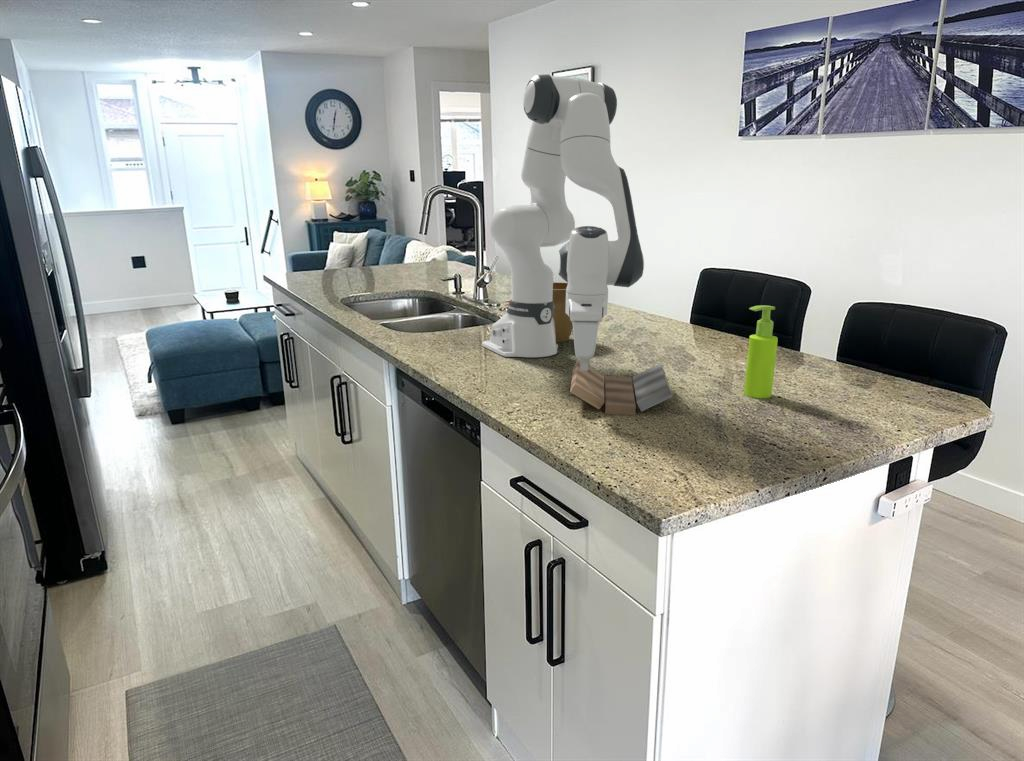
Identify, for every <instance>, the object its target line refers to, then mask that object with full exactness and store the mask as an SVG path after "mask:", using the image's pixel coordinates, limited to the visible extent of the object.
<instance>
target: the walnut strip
mask: <svg viewBox="0 0 1024 761" xmlns="http://www.w3.org/2000/svg"><path fill="white" fill-rule="evenodd" d="M604 401H605V402H604V410H605V412H604V413H605V415H619V416H620V415H621V416H622V415H623V416H636V407H637V406H636V405H637V403H636V397H635V391H634V385H633V379H632V376H617V375H616V376H615V375H604Z"/></svg>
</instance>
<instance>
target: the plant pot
mask: <svg viewBox="0 0 1024 761" xmlns="http://www.w3.org/2000/svg"><path fill="white" fill-rule="evenodd" d="M567 285H568V282H554V281H553V301H554V306H555V308H554V314H553V319H554V322H555V336H556V343H561V342H567V341H569V339H570V337H571V334H572V333H573V324H572V321H571V320H570V317H569V316H568V315H567V314H566V313H565V308H566V288H567Z"/></svg>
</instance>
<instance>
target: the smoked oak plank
mask: <svg viewBox="0 0 1024 761" xmlns="http://www.w3.org/2000/svg"><path fill="white" fill-rule="evenodd" d="M604 382H605V375H603V373H600V372H598V371H596V370H595V369H593V368H592V367H591V366H589V367H588V371H581V370H580V359H578V360H576V363H575V364H574V365H573V367H572V373H571V383H570V389H569V390H570V391H569V392H570V394H573V395H574V396H576V397H578V398H579V399H581V400H582V401H584V402H586V403H588V404H589V405H591V406H592V407H594V408H595V409H597V410H600V409H601V407H602V406H603V405H604V404H605V388H604Z"/></svg>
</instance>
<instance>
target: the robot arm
mask: <svg viewBox="0 0 1024 761" xmlns="http://www.w3.org/2000/svg"><path fill="white" fill-rule="evenodd" d="M617 108H618V99H617V95H616V91H615V90H614V89H613V88H612V87H611V86H609V85H608V84H605V83H602V82H595V81H591V80H588V79H584V78H580V77H575V76H574V77H569V76H559V75H557V76H556V75H552V76H551V75H550V74H537V75H534V76H532V78H531V79H529V81H528V83H527V85H526V87H525V91H524V95H523V110H524V111H523V112H524V114H525V115H526V116H527V118H528V119H529V120H530V121H532V123H531V126H530V129H529V132H528V137H527V142H526V147H525V151H524V158H523V163H522V169H521V180H522V182H523V184H524V185H525V186H526V187H527V188H528V189H529V191H530V203H529V204H523V205H522V204H517V205H515V204H514V205H510V206H506V207H503V208H501V209H498V210H496V212H494V214H493V215H492V218H491V220H490V225H489V226H490V234H491V237H492V239H493V241H494V243H495V244H496V245H497V246H499V248H500V249H501V250H502V251H503V253H504V254H505V256H506V259H507V261H508V264H509V268H510V280H511V296H510V297H511V299H510V300H507V301H505V304H504V306H507V310H506V313H505V314H504V315H503V316H502V317H500V318H499V319H498V320H497V321H495V322H494V323H493V324H492V326H491V328H490V336H489V337H490V339H486V340H484V341H482V343H481V347H484V348H485V349H488V350H490V351H492V352H494V353H496V354H498V355H500V356H502V357H506V358H507V357H509V358H511V357H512V358H513V357H515V358H516V357H519V358H544V357H551V356H554V355H556V354H557V353H558V349H559V345H558V343H557V342H556V336H555V322H554V319H553V314H554V308H555V306H554V301H553V282H554V272H553V269H552V267H550V266H549V265H548V264H546V263H545V262H544V260H543V257H542V254H541V253H542V252H541V248H548V247H556V246H559V245H561V244H563V246H562V247H560V249H559V250H558V253H559V270H558V274H557V275H558V276H559V277H560V278H561V279H562V280H563V281H565V283H568V285H567V288H566V308H565V313H566V314H567V315H568V316H569V317H570V320H571V321H572V324H573V329H572V333H573V345H574V355H575V358H576V359H579V361H580V370H581V371H588V367H590V366H589V365H590V364H589V363H590V360H591V359H594V357H595V356H594V355H595V351H596V346H597V338H598V332H599V326H600V324H601V323H602V320H603V318H604V317H605V316H607V315H608V305H609V288H608V286H614V287H620V288H621V287H622V288H630V287H631V286H633V285H634V284H636V283H637V282H638V281H640V279H641V278H642V277H643V274H644V268H645V258H644V254H643V251H642V247H641V243H640V238H639V234H638V229H637V223H636V222H637V221H636V216H635V211H634V205H633V198H632V194H631V189H630V185H629V184H630V183H629V180H628V176H627V174H626V171H625V169H624V168H622V167H620V166H619V165H618V164H617V163H616V161H615V159H614V157H613V155H612V154H613V153H612V149H611V128H610V125H611V124H612V123H613V121H614V120H615V117H616V112H617ZM566 177H567V179H568V180H570V181H571V182H573V184H575V185H576V186H578V187H581V188H583V189H585V190H588V191H591V192H592V193H593V192H594V193H595V194H597V195H599V196H602V197H603V198H605V199H606V200H607V201H608V202H609V203H610V205H611V206H612V211H613V215H614V220H615V221H614V222H615V227H616V232H617V239H616V240H609V236H608V235H609V234H608V232H607V230H606V229H604V228H603V227H597V226H593V225H585V226H578V227H576V222H575V217H574V215H573V213H572V212H571V210H570V209H569V207H568V205H567V201H566V194H565V192H566V191H565V184H566Z"/></svg>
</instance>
